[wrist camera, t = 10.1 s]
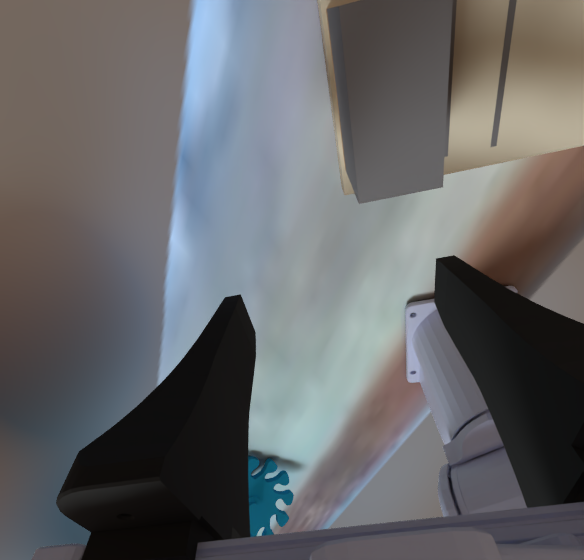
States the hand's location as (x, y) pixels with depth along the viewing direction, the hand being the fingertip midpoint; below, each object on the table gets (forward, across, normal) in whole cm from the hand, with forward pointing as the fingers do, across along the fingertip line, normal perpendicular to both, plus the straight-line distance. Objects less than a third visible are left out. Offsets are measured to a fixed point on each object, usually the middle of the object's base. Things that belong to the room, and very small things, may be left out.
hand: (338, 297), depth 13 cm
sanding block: (+9, -4, -5) cm, 11 cm away
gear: (+10, +14, +33) cm, 37 cm away
